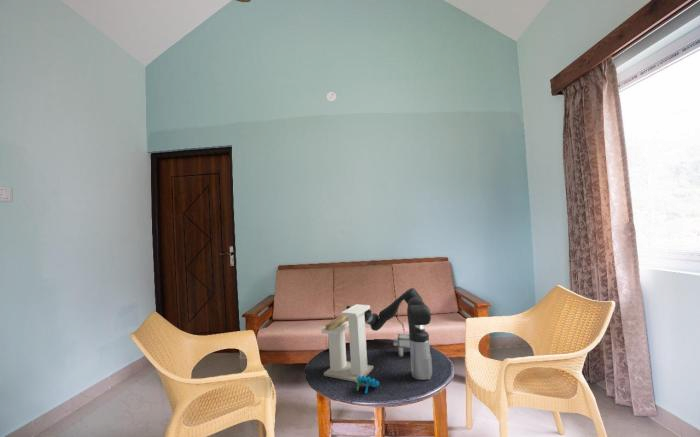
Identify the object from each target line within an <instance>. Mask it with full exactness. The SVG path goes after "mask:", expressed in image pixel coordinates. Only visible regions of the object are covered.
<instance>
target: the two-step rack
mask: <svg viewBox="0 0 700 437" xmlns="http://www.w3.org/2000/svg"><path fill="white" fill-rule="evenodd" d="M368 309H369V310H371V305H369V304H358V303H356V304H354V305H352V306H350V308H348V309H346V310H343V311H341V312H340V313H341V315H340V316H348V321H346V322H344V323H343V324H341V325H340V326H338V327H336V328H335V329H333V330H332V331H328V330H326V326H325V327H324V328H322V329H321V334H326V335H328V347H329V348H328V349H329V366H330V368H328V369H327V370H325V371H324V372H323V376H324V377H327V378H328V377H329V378H334V379H339V380H345V381H348V382H349V381H350V382H352V383H353V382H354V383H356V382H355V381H356V379H357V377H358V378H359V376H361V377H362V376H365V377H366V378H367V377H368V376H369V374H370V373H371V372H372V371H373V370H374V368H375V367H374V365H370V364H368V355H367V353H368V352H367V336H366V335H367V334H366V323H365V316H364V312H365V311H367V310H368ZM346 328H348V334H349V339H348V340H349V353H350V361H349V360H348V361H347V350H346V334H345V333H346V332H345V330H346Z"/></svg>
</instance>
